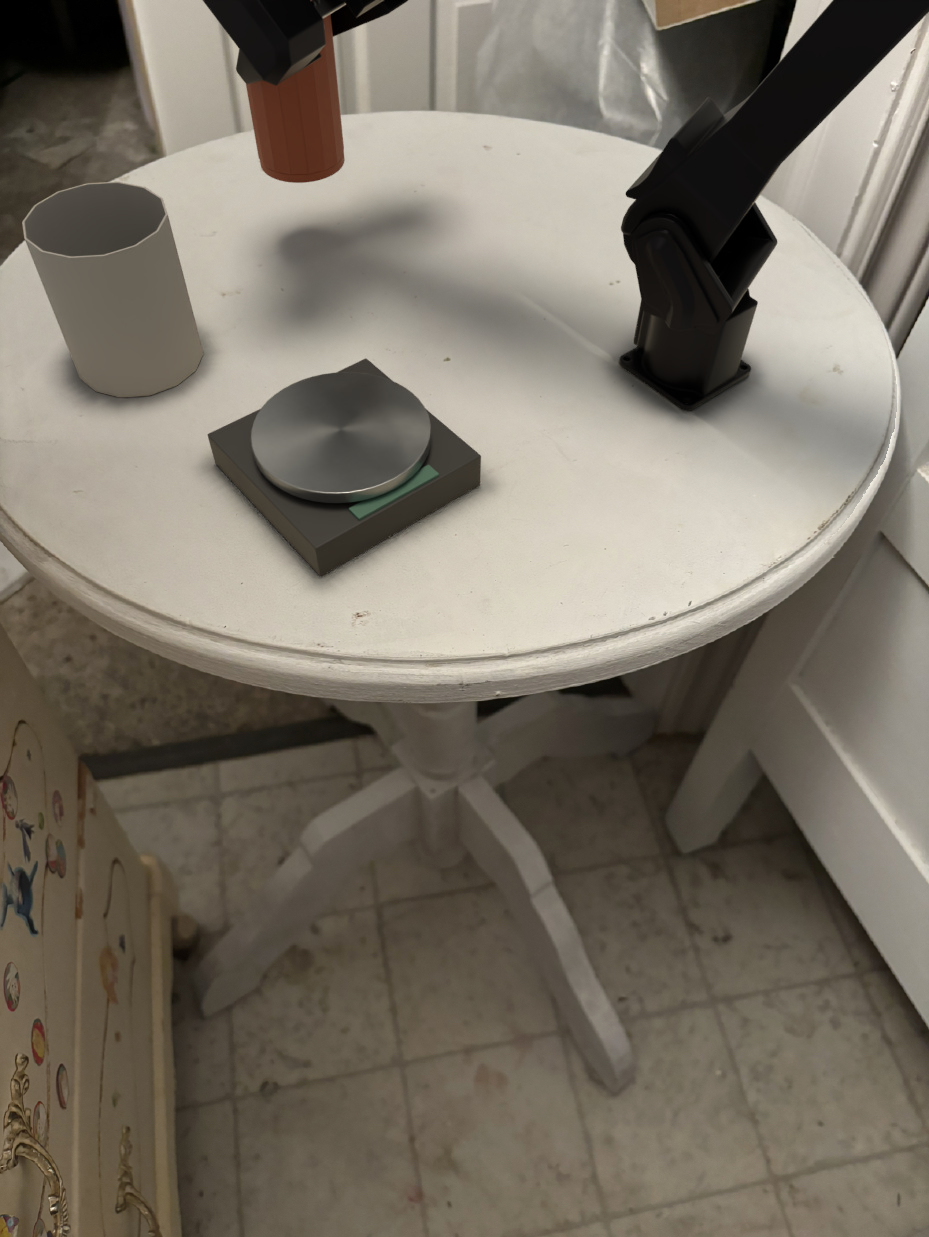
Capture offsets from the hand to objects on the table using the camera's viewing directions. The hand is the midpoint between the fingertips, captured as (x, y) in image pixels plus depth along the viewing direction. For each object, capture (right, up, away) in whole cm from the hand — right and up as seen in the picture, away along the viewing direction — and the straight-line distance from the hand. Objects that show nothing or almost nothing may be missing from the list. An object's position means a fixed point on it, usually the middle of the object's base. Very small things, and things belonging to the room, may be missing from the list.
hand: (272, 58), depth 62 cm
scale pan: (+6, -27, -7) cm, 28 cm away
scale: (+6, -29, -5) cm, 29 cm away
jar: (+1, -5, +5) cm, 7 cm away
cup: (-9, -20, +2) cm, 22 cm away
